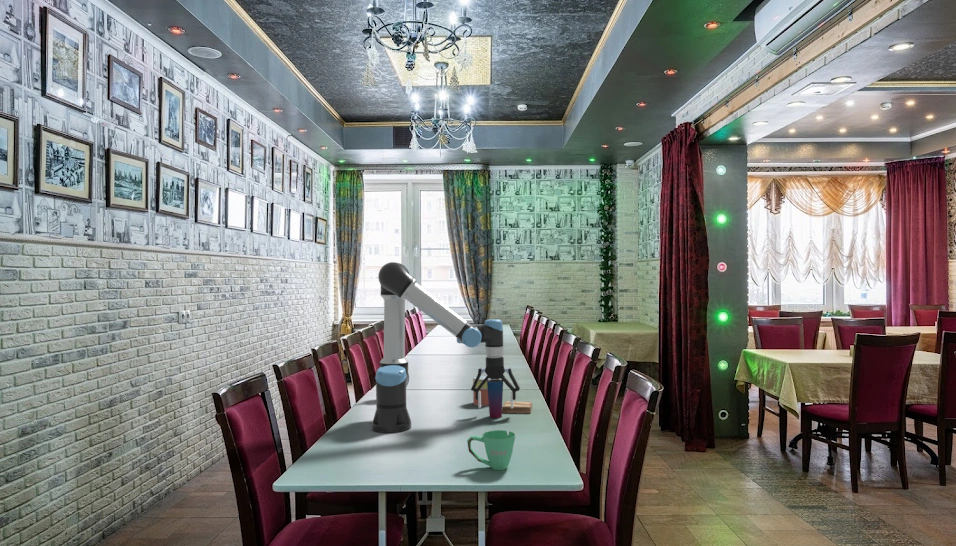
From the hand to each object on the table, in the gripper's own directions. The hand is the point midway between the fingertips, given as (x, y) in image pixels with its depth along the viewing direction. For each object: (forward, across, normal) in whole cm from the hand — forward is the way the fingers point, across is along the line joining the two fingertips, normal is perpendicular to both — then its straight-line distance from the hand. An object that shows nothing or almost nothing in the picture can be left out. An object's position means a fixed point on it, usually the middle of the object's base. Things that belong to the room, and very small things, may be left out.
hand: (495, 407), depth 244 cm
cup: (+4, 0, 0) cm, 4 cm away
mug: (+4, -7, +66) cm, 66 cm away
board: (+4, -8, -13) cm, 16 cm away
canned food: (+4, +8, -26) cm, 28 cm away
